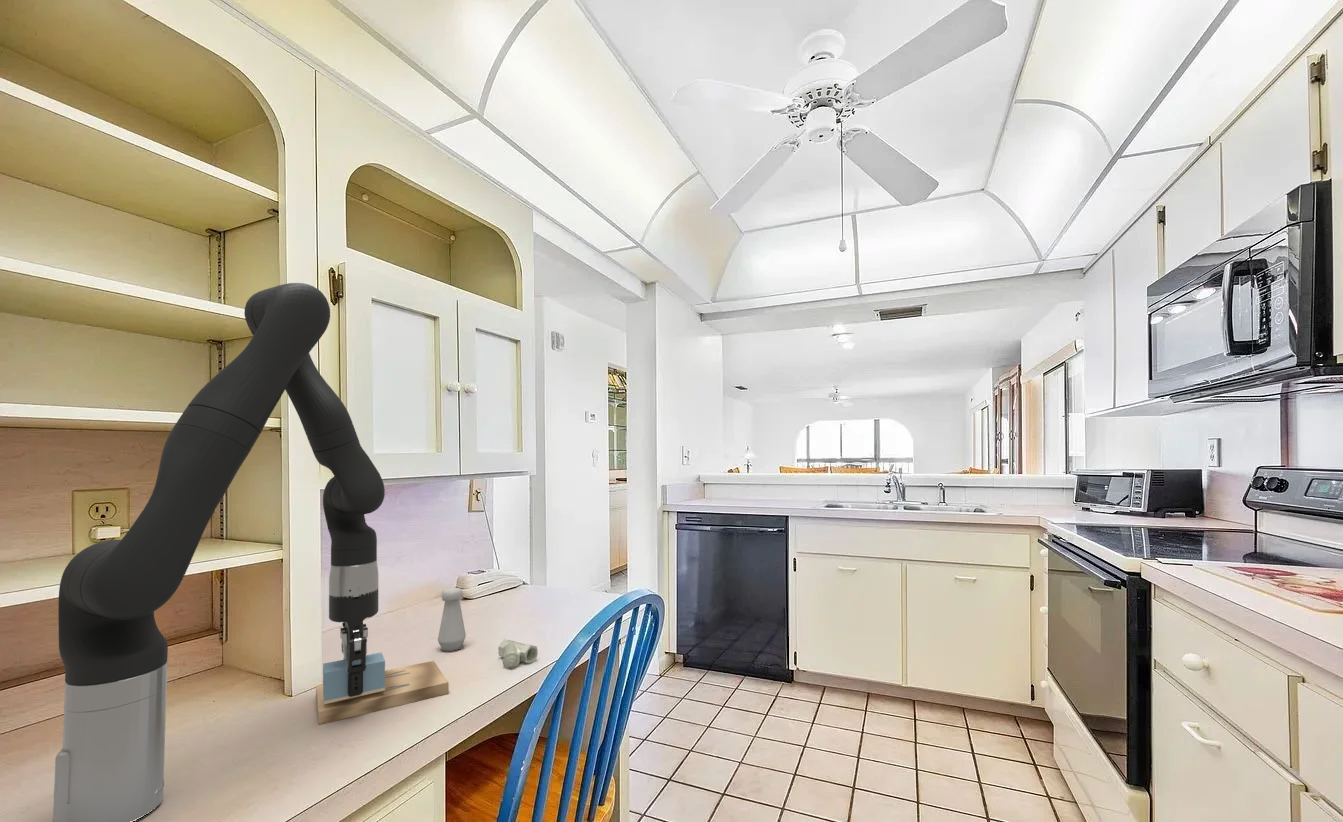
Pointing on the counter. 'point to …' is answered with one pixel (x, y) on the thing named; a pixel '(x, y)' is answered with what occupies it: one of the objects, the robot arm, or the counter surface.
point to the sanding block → (338, 678)
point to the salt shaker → (451, 621)
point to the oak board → (387, 692)
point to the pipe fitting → (516, 653)
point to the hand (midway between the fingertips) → (353, 688)
